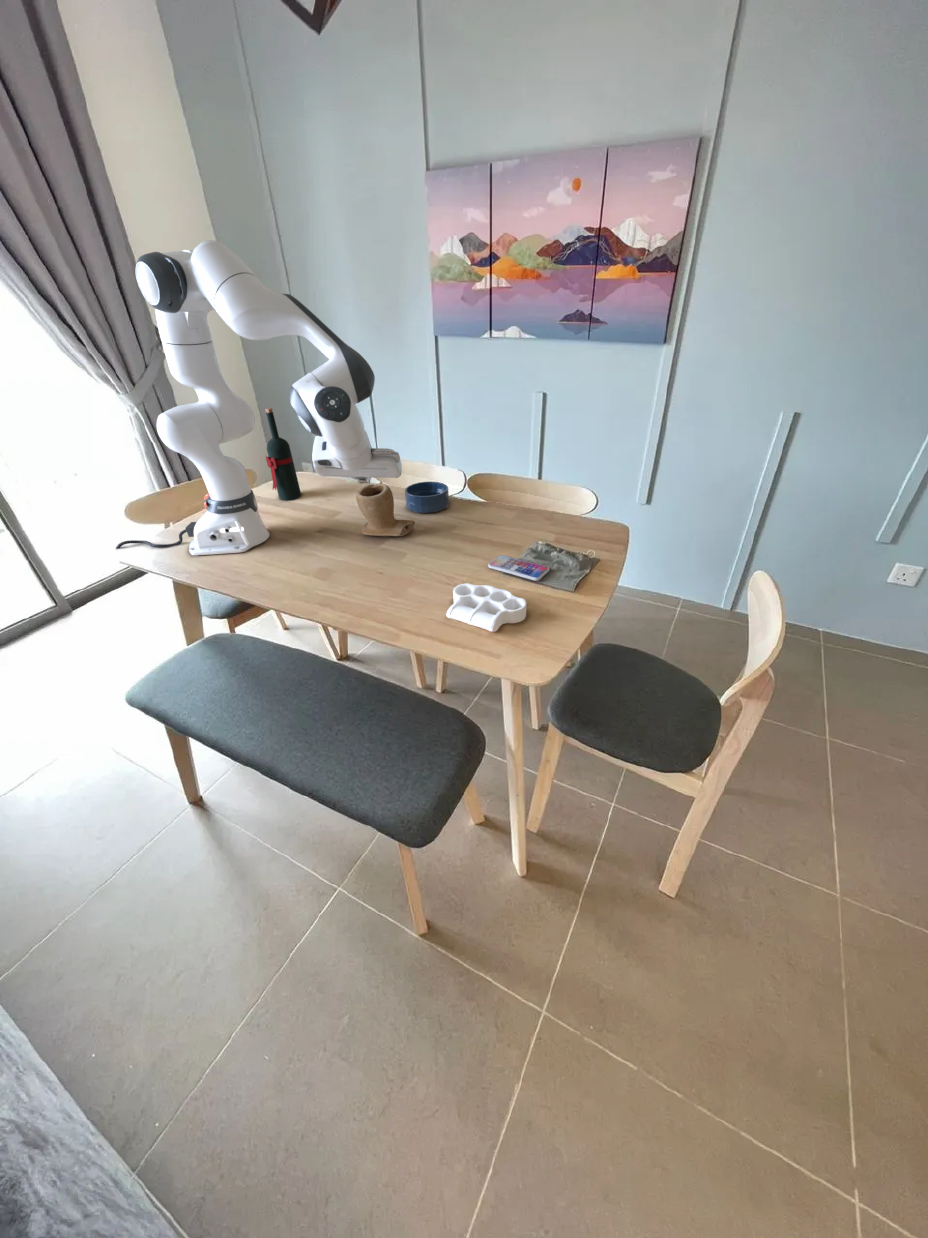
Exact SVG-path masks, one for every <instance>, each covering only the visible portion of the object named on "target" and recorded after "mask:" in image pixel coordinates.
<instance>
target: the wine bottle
mask: <svg viewBox="0 0 928 1238" xmlns="http://www.w3.org/2000/svg"><path fill="white" fill-rule="evenodd" d="M264 411H265V415H266V418H267V422H268V426H269V430H270V434H271V438H270V439H269V440H268V442H267V444H266V453H267V456H265V461H266V465H267V467H268V469H270V473H271V480H272V490H275V491H276V492H277V495H278V500H281V501H283V502H284V501H289V502H290V501H294V500H297V499H300V498H301V497H302V492H301V488H300V484H299V480H298V476H297V475H298V474H297V472H296V467H295V462H294V459H293V455H292V450H291V446H290V443H289V442H288V441H287V440H286V439H284V438H283V437H280V435H279V431H278V427H277V423H276V419H275V415H274V414H275V413H274V411H273V407H266V408H264Z"/></svg>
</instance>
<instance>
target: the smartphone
mask: <svg viewBox="0 0 928 1238" xmlns="http://www.w3.org/2000/svg"><path fill="white" fill-rule="evenodd" d="M543 566H544V565H542V566H541V564H537V563H535V562H532V561H531V562H530V561H527V560H522V559H519V558H515V557H512V556H507V555H503V554H500V555H498V556H496V557H495V558H493V559H492V561H490V562H489V563H488V564H487V567H488V568H489V569H492V570H495V571H499V572H501V573H506V574H510V575H514V576H516V577H520V578H524V579H528V580H530V581H531V580H532V581H533V582H534V581H535V582H538V581H540V580H542V579H543V577H545V576H546V575H547V574H548V573H549V572H550V568H549V569H548V570H547V568H546V567H547V566H546V567H543ZM545 568H546V569H545ZM546 570H547V571H546Z"/></svg>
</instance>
